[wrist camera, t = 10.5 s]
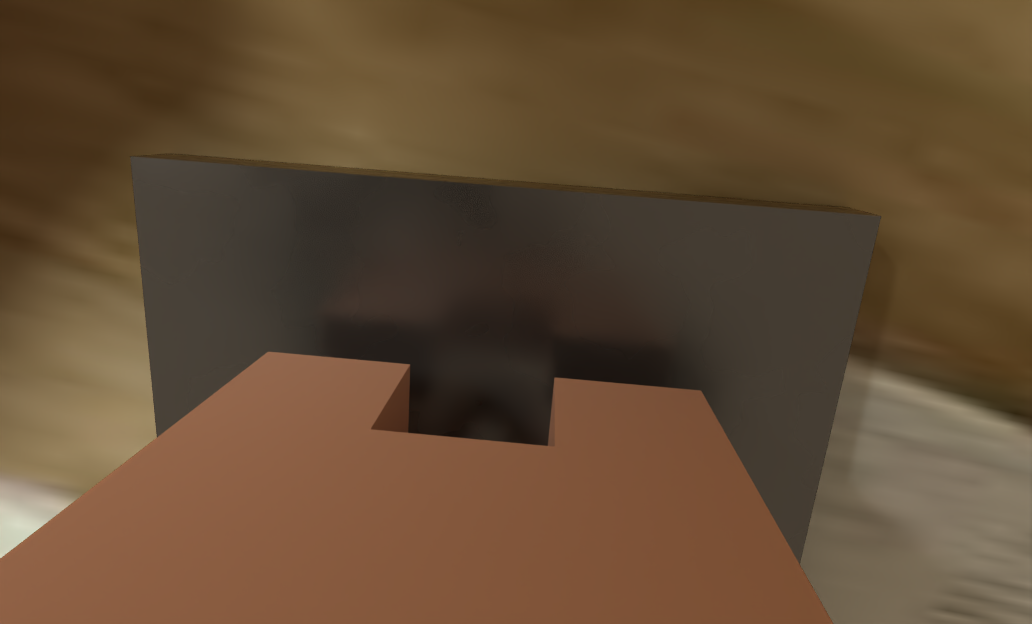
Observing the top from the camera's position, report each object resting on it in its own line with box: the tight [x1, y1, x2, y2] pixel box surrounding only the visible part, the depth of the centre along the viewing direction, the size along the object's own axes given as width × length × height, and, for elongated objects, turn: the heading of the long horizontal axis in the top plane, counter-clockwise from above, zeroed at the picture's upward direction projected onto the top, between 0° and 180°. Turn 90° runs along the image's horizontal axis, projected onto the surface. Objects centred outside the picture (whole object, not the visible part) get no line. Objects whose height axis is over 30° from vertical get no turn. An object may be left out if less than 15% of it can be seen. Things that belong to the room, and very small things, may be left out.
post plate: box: [130, 154, 881, 564], centre depth 14 cm, size 16×16×6 cm
